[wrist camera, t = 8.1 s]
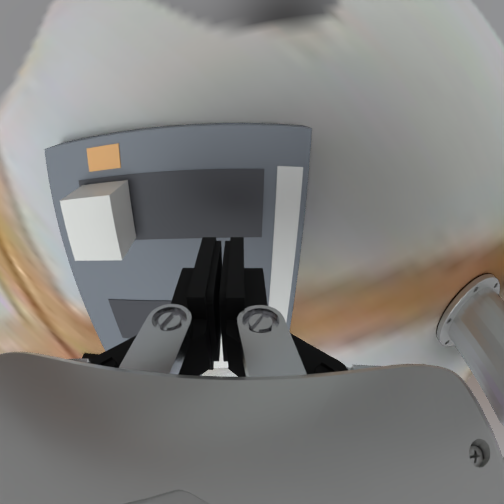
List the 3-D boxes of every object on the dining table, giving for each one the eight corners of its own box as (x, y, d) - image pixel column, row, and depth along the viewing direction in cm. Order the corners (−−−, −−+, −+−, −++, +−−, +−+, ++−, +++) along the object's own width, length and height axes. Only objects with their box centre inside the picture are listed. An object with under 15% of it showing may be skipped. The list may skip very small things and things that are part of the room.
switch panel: (301, 125, 17) (312, 128, 15) (281, 337, 27) (285, 356, 25) (62, 143, 16) (43, 149, 14) (112, 335, 26) (106, 353, 24)
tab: (127, 180, 15) (109, 195, 13) (136, 237, 17) (122, 260, 15) (82, 185, 15) (59, 200, 13) (93, 238, 17) (75, 260, 15)
